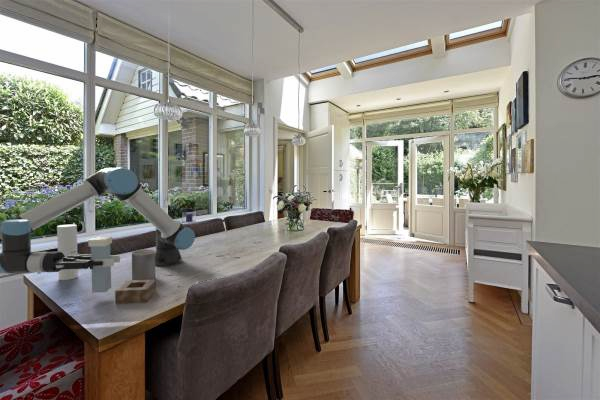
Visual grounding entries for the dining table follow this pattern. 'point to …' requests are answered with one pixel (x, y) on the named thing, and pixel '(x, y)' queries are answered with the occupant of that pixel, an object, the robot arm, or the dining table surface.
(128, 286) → the socket block
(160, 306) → the dining table surface
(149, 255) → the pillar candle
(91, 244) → the plug
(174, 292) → the dining table surface
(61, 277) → the cylindrical container
